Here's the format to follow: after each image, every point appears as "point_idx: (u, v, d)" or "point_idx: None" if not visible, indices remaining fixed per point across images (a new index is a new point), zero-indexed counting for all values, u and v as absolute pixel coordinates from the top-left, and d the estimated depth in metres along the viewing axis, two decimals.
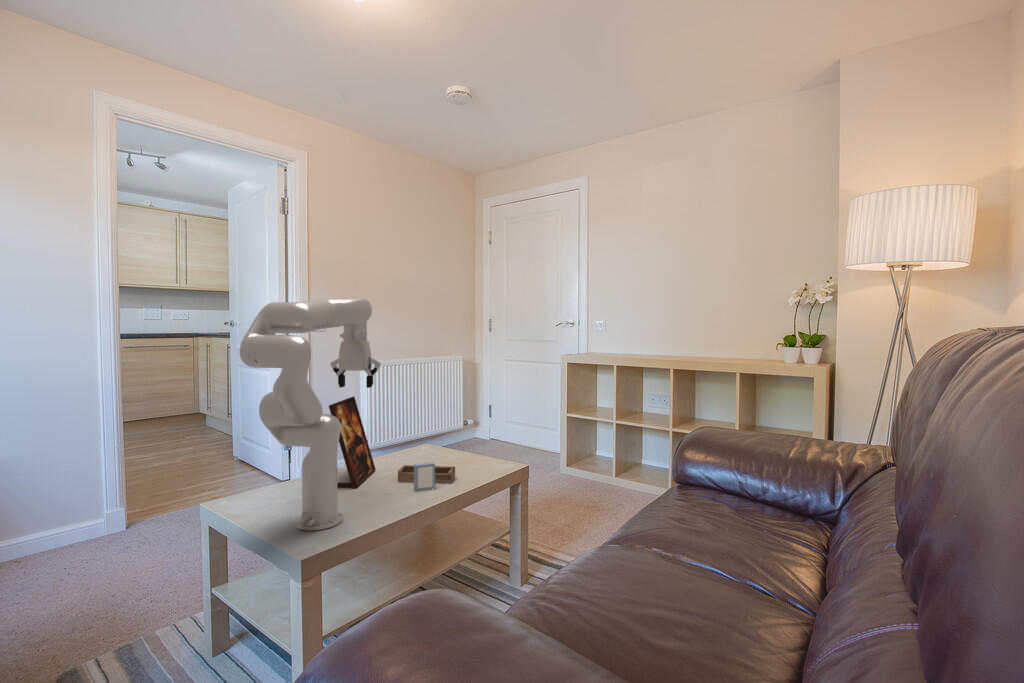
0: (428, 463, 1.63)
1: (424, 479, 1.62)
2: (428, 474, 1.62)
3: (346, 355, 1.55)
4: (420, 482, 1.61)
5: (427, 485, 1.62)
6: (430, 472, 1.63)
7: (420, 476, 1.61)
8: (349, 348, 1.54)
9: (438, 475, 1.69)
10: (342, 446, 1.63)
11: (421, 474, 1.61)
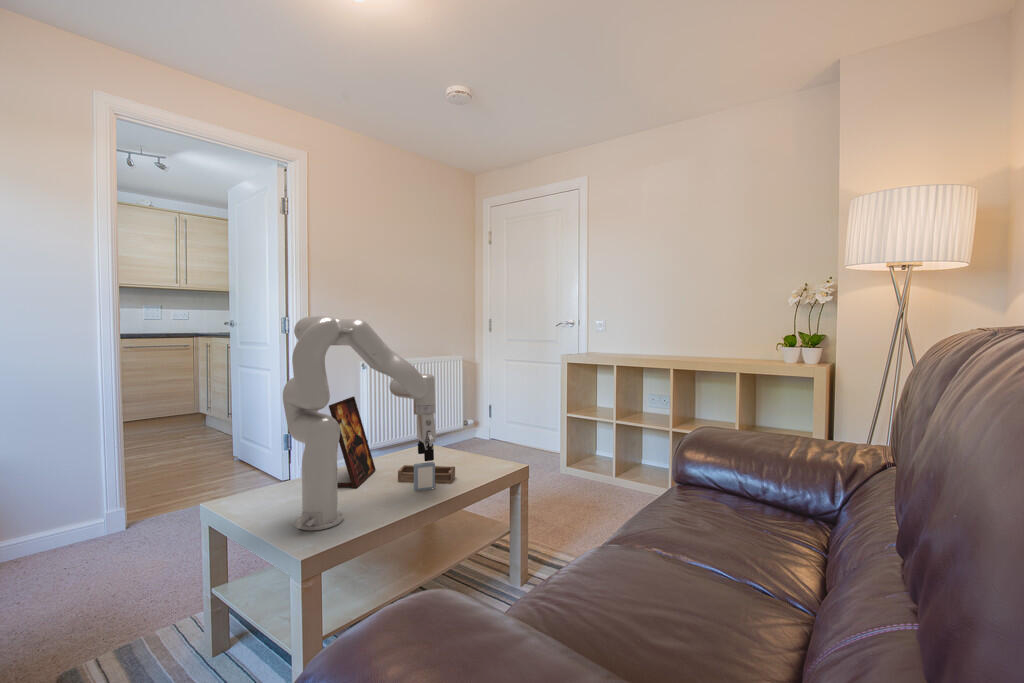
0: (428, 463, 1.63)
1: (424, 479, 1.62)
2: (428, 474, 1.62)
3: None
4: (420, 482, 1.61)
5: (427, 485, 1.62)
6: (430, 472, 1.63)
7: (420, 476, 1.61)
8: None
9: (438, 475, 1.69)
10: (342, 446, 1.63)
11: (421, 474, 1.61)
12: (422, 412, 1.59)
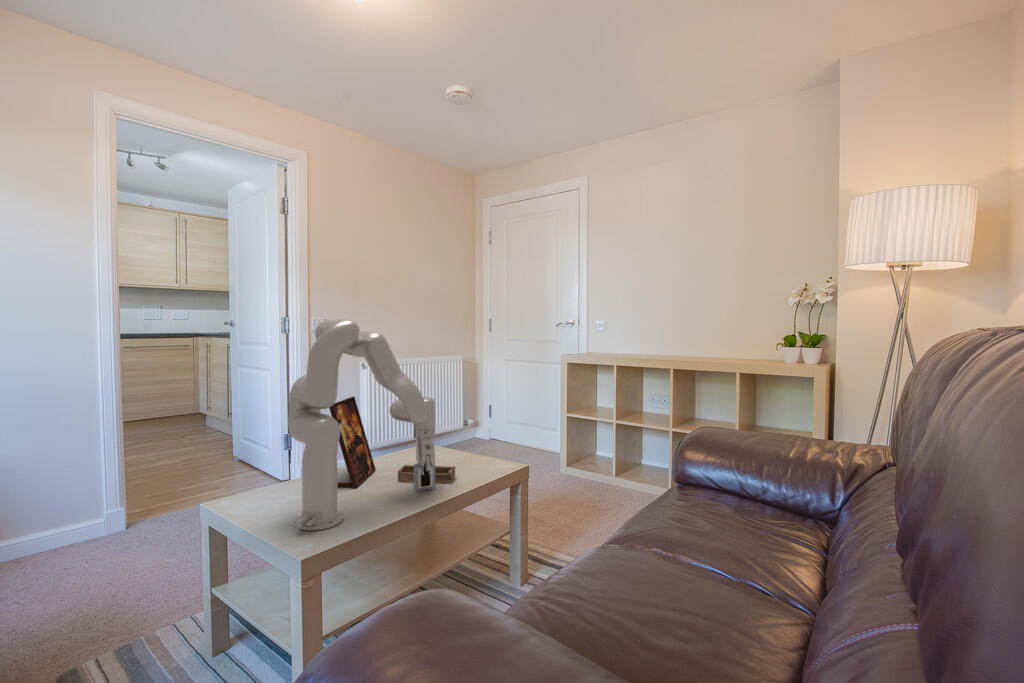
0: None
1: None
2: None
3: None
4: (420, 481, 1.61)
5: None
6: (430, 472, 1.63)
7: (420, 476, 1.61)
8: None
9: (438, 475, 1.69)
10: (342, 446, 1.63)
11: (421, 474, 1.61)
12: (422, 436, 1.59)
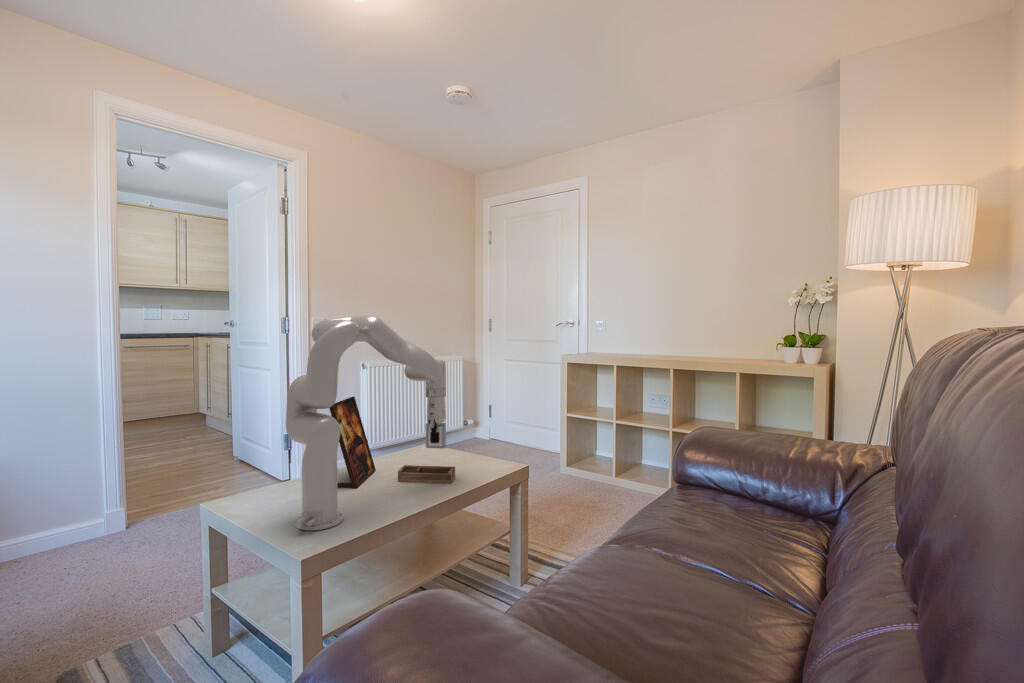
0: None
1: None
2: None
3: (441, 410, 1.70)
4: None
5: (437, 444, 1.71)
6: (440, 432, 1.71)
7: None
8: (442, 403, 1.71)
9: (438, 475, 1.69)
10: (342, 446, 1.63)
11: None
12: (429, 395, 1.69)
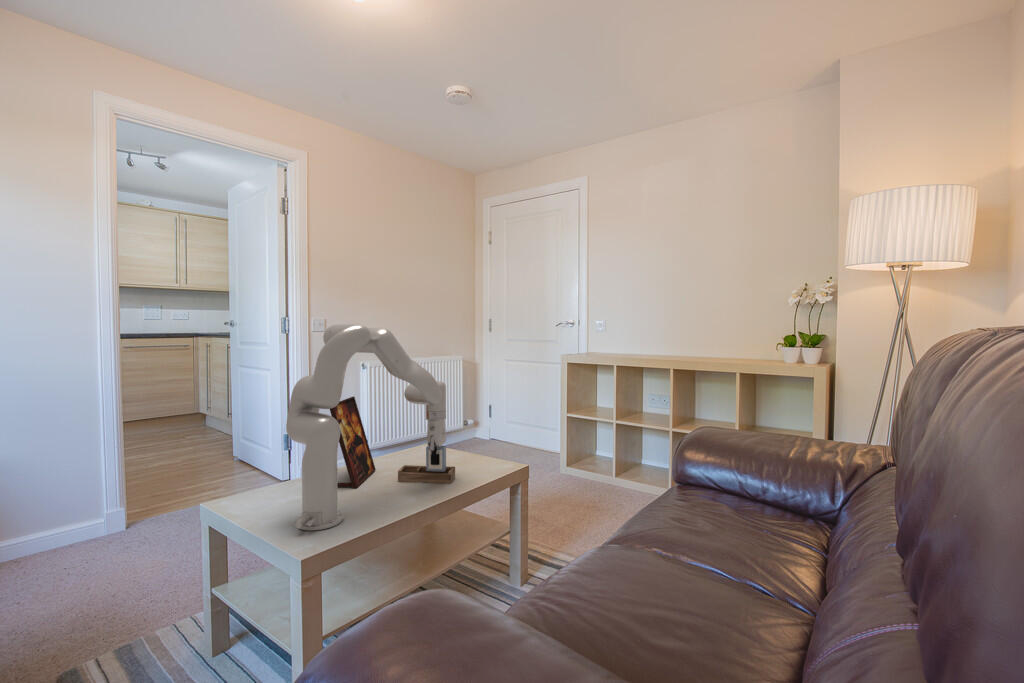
0: None
1: None
2: None
3: (441, 432, 1.70)
4: (430, 463, 1.72)
5: (437, 467, 1.71)
6: (440, 455, 1.71)
7: (430, 457, 1.72)
8: (442, 425, 1.71)
9: (438, 475, 1.69)
10: (342, 446, 1.63)
11: None
12: (429, 417, 1.69)
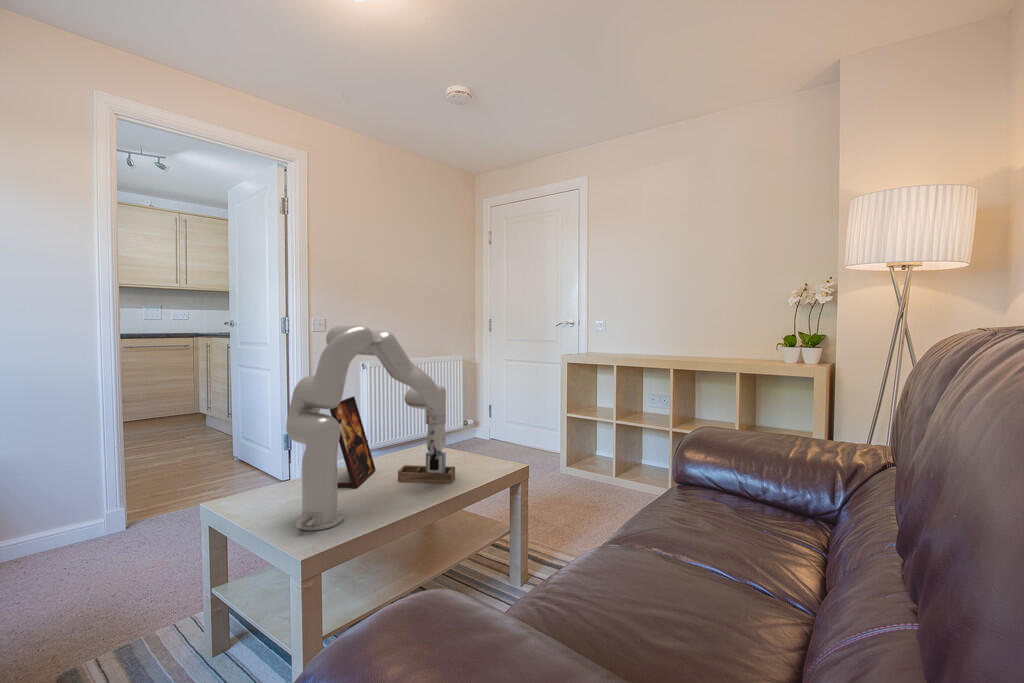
0: (439, 453, 1.72)
1: None
2: None
3: (441, 436, 1.70)
4: None
5: None
6: (439, 461, 1.71)
7: None
8: (442, 429, 1.71)
9: (438, 475, 1.69)
10: (342, 446, 1.63)
11: None
12: (429, 422, 1.69)
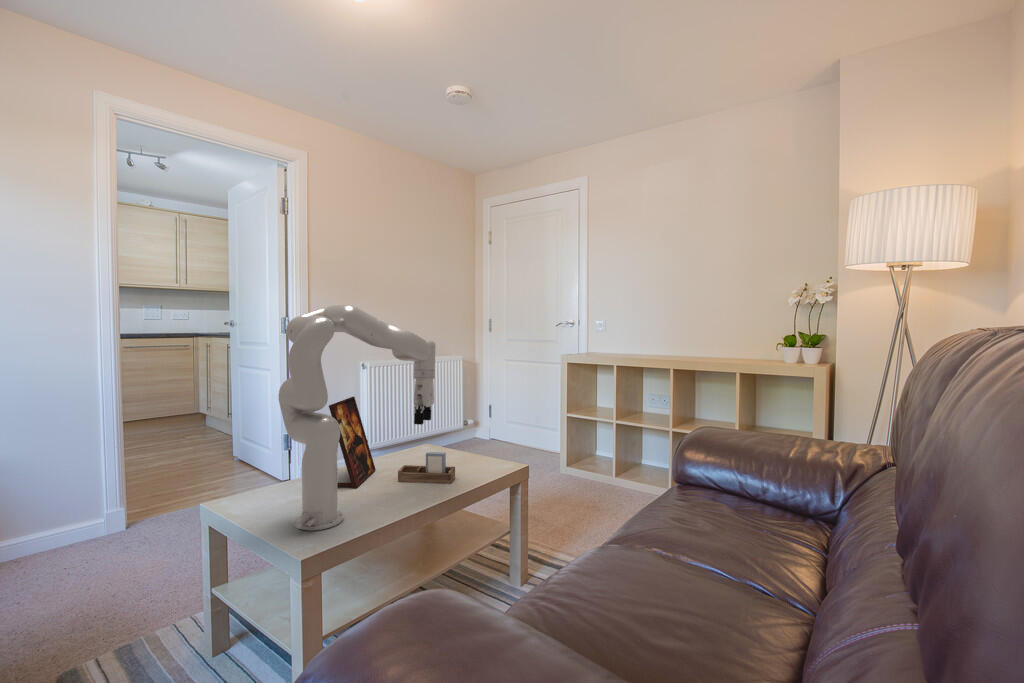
0: (439, 453, 1.72)
1: (434, 467, 1.71)
2: (437, 463, 1.71)
3: (429, 392, 1.64)
4: (430, 469, 1.71)
5: None
6: (439, 461, 1.71)
7: (430, 464, 1.71)
8: (430, 385, 1.65)
9: (438, 475, 1.69)
10: (342, 446, 1.63)
11: (431, 462, 1.71)
12: (417, 376, 1.63)
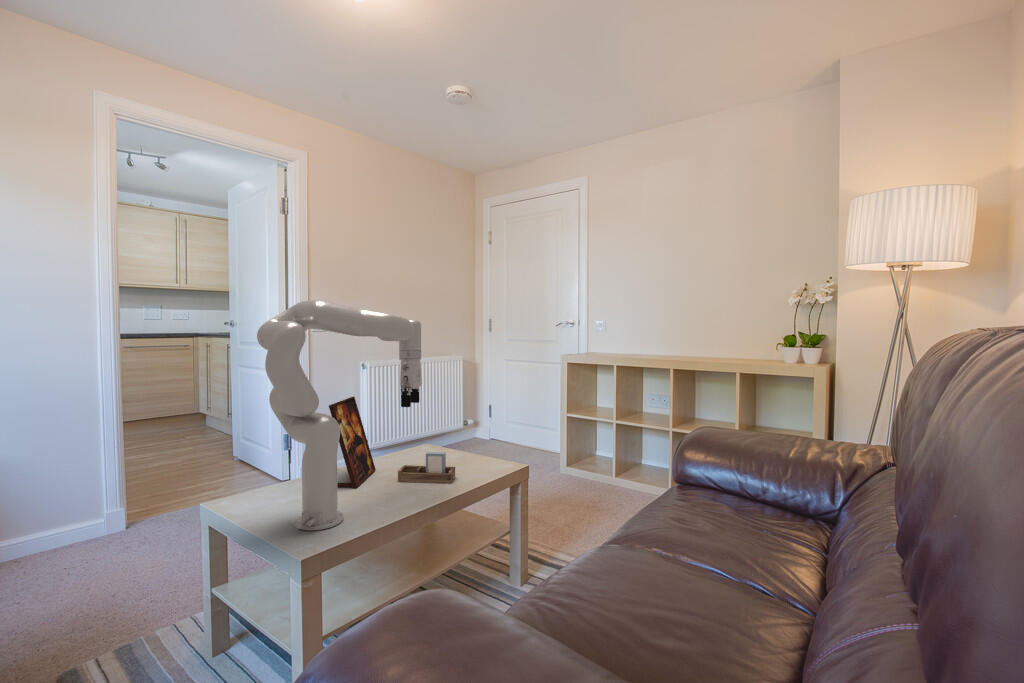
0: (439, 453, 1.72)
1: (434, 467, 1.71)
2: (437, 463, 1.71)
3: (416, 373, 1.57)
4: (430, 469, 1.71)
5: None
6: (439, 461, 1.71)
7: (430, 464, 1.71)
8: (417, 366, 1.58)
9: (438, 475, 1.69)
10: (342, 446, 1.63)
11: (431, 462, 1.71)
12: (402, 357, 1.56)
